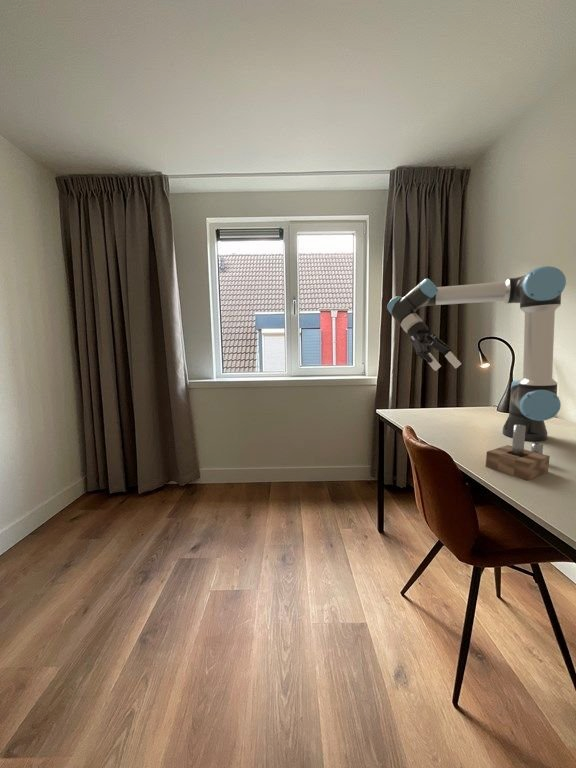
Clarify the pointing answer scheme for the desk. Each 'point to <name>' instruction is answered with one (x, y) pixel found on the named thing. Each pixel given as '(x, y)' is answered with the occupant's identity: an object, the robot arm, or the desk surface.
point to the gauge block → (517, 462)
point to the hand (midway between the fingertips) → (448, 367)
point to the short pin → (537, 448)
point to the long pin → (518, 440)
